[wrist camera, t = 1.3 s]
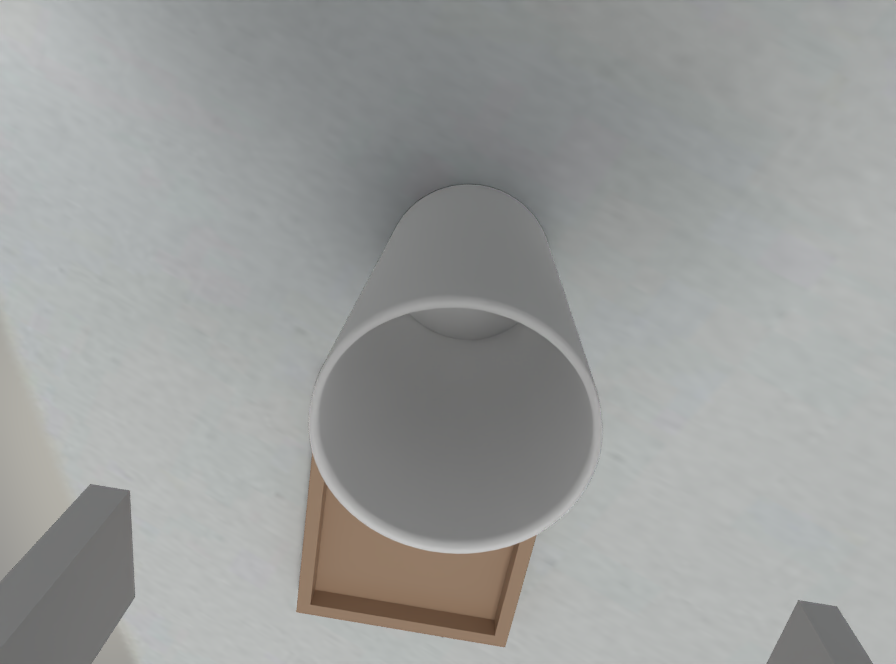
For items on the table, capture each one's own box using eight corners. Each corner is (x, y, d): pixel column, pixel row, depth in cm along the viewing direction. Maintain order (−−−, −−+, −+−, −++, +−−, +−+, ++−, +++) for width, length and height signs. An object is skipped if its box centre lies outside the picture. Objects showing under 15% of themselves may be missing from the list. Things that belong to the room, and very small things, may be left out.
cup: (355, 278, 33) (252, 455, 18) (454, 148, 30) (424, 234, 16) (480, 369, 35) (476, 598, 20) (585, 254, 32) (668, 421, 17)
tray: (327, 367, 35) (319, 384, 33) (562, 408, 35) (566, 427, 34) (304, 587, 42) (296, 612, 40) (504, 621, 42) (504, 647, 40)
